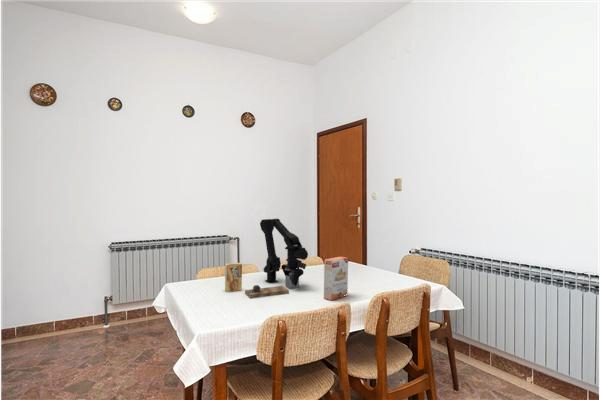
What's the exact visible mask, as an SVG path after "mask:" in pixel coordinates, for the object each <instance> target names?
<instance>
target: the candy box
mask: <svg viewBox="0 0 600 400" xmlns="http://www.w3.org/2000/svg"><path fill="white" fill-rule="evenodd" d="M224 278H225V279H224V291H225V292H227V293H230V292H238V291H243V263H241V262H233V263H232V262H231V263H225V265H224Z"/></svg>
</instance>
